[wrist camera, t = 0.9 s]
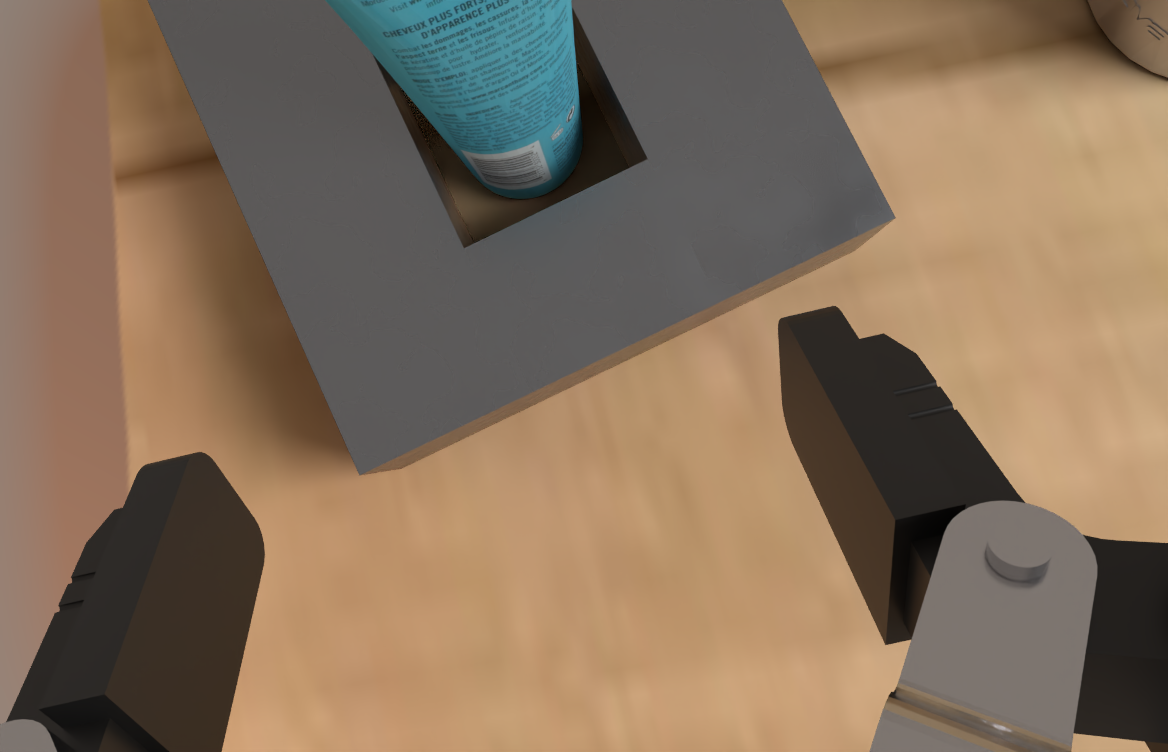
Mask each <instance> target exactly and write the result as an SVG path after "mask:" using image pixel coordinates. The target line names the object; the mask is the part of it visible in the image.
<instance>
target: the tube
mask: <svg viewBox="0 0 1168 752" xmlns="http://www.w3.org/2000/svg"><path fill="white" fill-rule="evenodd" d="M325 1H326V2H327V3H328V4H329V5H330V6H331V8H332V9H333V10H334V11H335V12H336V13H337V14H338V15H339V16H340V17H341V19H342V20H343V21H344V22H345V23H346V24H347V25H348V26H349V27H350V28H351V30H352V31H353V32H354V33H355V34H356V35H357V37H358V38H359V39H360V40H361V41H362V42H363V44H364V45H365V46H366V47H367V48H368V49H369V51H370V52H371V53H372V54H373V55H374V56H375V57H376V59H377V60H378V61H379V62H380V63H381V64H382V66H383V67H384V68H385V69H386V70H387V71H388V73H389V74H390V75H391V76H392V77H393V79H394V80H395V81H396V82H397V83H398V84H399V86H400V87H401V88H402V89H403V90H404V92H405V93H406V94H407V95H408V96H409V98H410V99H411V100H412V101H413V102H414V104H415V105H416V106H417V107H418V108H419V110H420V111H421V112H422V113H423V114H424V116H425V117H426V118H427V119H428V120H429V122H430V123H431V124H432V125H433V126H434V128H435V129H436V130H437V131H438V132H439V134H440V135H441V136H442V137H443V139H444V140H445V141H446V142H447V143H448V145H449V146H450V147H451V148H452V150H453V151H454V152H455V153H456V154H457V156H458V157H459V158H460V159H461V160H462V162H463V163H464V164H465V165H466V167H467V168H468V169H469V170H470V172H471V173H472V174H473V175H474V176H475V177H476V178H477V180H478V181H479V182H480V183H481V184H483V185H484V186H485V187H486V188H488V189H489V190H491V191H492V192H494V193H496V194H498V195H501V196H504V197H508V198H515V199H528V198H535V197H539V196H542V195H544V194H547V193H549V192H551V191H552V190H554V189H556V188H557V187H559V186H560V185H561V184H562V183H563V182H564V181H565V180H566V179H567V178H568V177H569V176H570V174H571V173H572V171H573V170H574V168H575V167H576V165H577V163H578V161H579V158H580V154H581V151H582V145H583V132H582V121H581V110H580V100H579V90H578V80H577V68H576V57H575V45H574V30H573V18H572V3H571V0H325Z"/></svg>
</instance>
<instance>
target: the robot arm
mask: <svg viewBox="0 0 1168 752" xmlns="http://www.w3.org/2000/svg"><path fill="white" fill-rule="evenodd" d="M1088 3H1089V5H1090V7H1091V10H1092V12H1093V14H1094V17H1095V19H1096V22H1097V23H1098V24H1099V26H1100V27H1101V29H1102V30H1103V31H1104V33H1105V34H1106V36H1107V37H1108V38H1109V40H1110V41H1111V42H1112V43H1113V44H1114V45H1115V46H1116V47H1117V48H1118V49H1119V50H1120V51H1121V52H1123V53H1124V54H1125V55H1126V56H1127V57H1128V58H1129V59H1131V60H1132V61H1134V62H1136V63H1137V64H1139V65H1141V66H1142V67H1144V68H1146V69H1147V70H1149V71H1151V72H1153V73H1156V74H1159V75H1162V76H1165V77H1168V0H1088ZM778 338H779V356H780V375H781V393H782V406H783V412H784V417H785V422H786V425H787V429H788V432H789V435H790V438H791V441H792V444H793V446H794V448H795V450H796V453H797V455H798V457H799V459H800V461H801V463H802V465H803V468H804V470H805V472H806V474H807V476H808V478H809V481H810V483H811V485H812V487H813V489H814V491H815V494H816V496H817V498H818V500H819V502H820V504H821V507H822V509H823V511H824V513H825V515H826V517H827V519H828V522H829V524H830V526H831V528H832V530H833V532H834V535H835V537H836V539H837V541H838V543H839V545H840V548H841V550H842V552H843V554H844V556H845V558H846V561H847V563H848V565H849V567H850V569H851V571H852V573H853V576H854V578H855V580H856V582H857V584H858V586H859V589H860V591H861V593H862V595H863V597H864V599H865V602H866V604H867V606H868V608H869V610H870V612H871V615H872V617H873V619H874V621H875V623H876V625H877V627H878V630H879V632H880V634H881V636H882V638H883V640H884V643H885V645H888V644H893V643H897V642H902V641H906V640H911V639H912V640H911V643H910V646H909V650H908V653H907V656H906V659H905V663H904V666H903V669H902V672H901V676H900V679H899V682H898V684H897V687H896V689H895V691H894V692H891V693H890V695H889V697H888V699H887V701H886V703H885V706H884V709H883V711H882V714H881V717H880V720H879V723H878V726H877V730H876V733H875V736H874V739H873V742H872V746H871V749H870V752H1071V749H1072V740H1073V733H1076V734H1085V735H1093V736H1102V737H1111V738H1120V739H1129V740H1137V741H1145V743H1146V744H1147V746H1148V748H1149V749H1150V751H1151V752H1168V543H1154V542H1135V541H1116V540H1106V539H1099V538H1094V537H1090V536H1085V535H1082V534H1081V533H1080V532H1079V531H1078V530H1077V529H1076V528H1075V527H1074V526H1073V525H1071V524H1070V523H1069V522H1067V521H1066V520H1065V519H1063V518H1061V517H1060V516H1058V515H1056V514H1055V513H1053V512H1050V511H1048V510H1046V509H1043V508H1041V507H1038V506H1034V505H1031V504H1027V503H1025V502H1024V501H1023V499H1022V498H1021V497H1020V496H1019V495H1018V494H1017V492H1016V491H1015V489H1014V488H1013V487H1012V485H1011V484H1010V482H1009V481H1008V480H1007V478H1006V477H1005V476H1004V474H1003V473H1002V471H1001V470H1000V469H999V467H998V466H997V464H996V463H995V462H994V460H993V459H992V458H991V456H990V455H989V453H988V452H987V451H986V449H985V448H984V447H983V445H982V444H981V442H980V441H979V440H978V438H977V437H976V435H975V434H974V433H973V431H972V430H971V429H970V427H969V426H968V424H967V423H966V422H965V420H964V419H963V417H962V416H961V415H960V413H959V412H958V411H957V410H954V408H953V404H952V402H951V401H950V399H949V398H948V397H947V395H946V394H945V393H944V391H943V390H942V388H941V387H938V386H937V384H936V380H935V379H934V377H933V376H932V375H931V373H930V372H929V370H928V369H927V368H926V366H925V365H924V363H923V362H922V361H921V359H920V358H919V357H918V355H917V354H916V353H914V352H913V351H911V350H910V349H908V348H906V347H905V346H903V345H902V344H900V343H898V342H897V341H895V340H893V339H892V338H890V337H889V336H887V335H885V334H879V335H875V336H871V337H866V338H862V339H859V338H858V336H857V335H856V333H855V332H854V330H853V329H852V327H851V326H850V324H849V323H848V321H847V319H846V318H845V316H844V315H843V313H842V312H841V311H840V309H839V308H838V307H836V306H831V307H827V308H823V309H818V310H814V311H810V312H805V313H801V314H797V315H793V316H788V317H784V318H781V319H780V320H779V324H778ZM264 557H265V552H264V542H263V537H262V534H261V531H260V528H259V526H258V524H257V522H256V520H255V518H254V517H253V516H252V514H251V513H250V511H249V510H248V509H247V507H246V506H245V504H244V503H243V501H242V500H241V499H240V497H239V496H238V494H237V493H236V492H235V490H234V489H233V487H232V486H231V484H230V483H229V482H228V480H227V479H226V477H225V476H224V475H223V473H222V472H221V470H220V469H219V467H218V466H217V465H216V463H215V462H214V461H213V459H212V458H211V457H210V456H208V455H207V454H205V453H202V452H197V453H193V454H189V455H184V456H180V457H176V458H171V459H167V460H163V461H159V462H154V463H150V464H147V465H144V466H143V467H142V468H141V469H140V470H139V472H138V474H137V476H136V478H135V480H134V483H133V485H132V487H131V490H130V492H129V495H128V497H127V499H126V502H125V504H124V506H123V508H120V509H116V510H114V511H113V512H112V513H111V514H110V515H109V517H108V518H107V519H106V520H105V522H104V523H103V524H102V525H101V526H100V527H99V529H98V530H97V531H96V532H95V533H94V535H93V536H92V537H91V538H90V539H89V540H88V542H87V543H86V545H85V547H84V549H83V552H82V554H81V557H80V558H79V561H78V563H77V565H76V567H75V570H74V572H73V574H72V576H71V578H72V583H71V584H68V585H67V587H66V590H65V592H64V594H63V596H62V599H61V601H60V603H59V607H60V611H59V612H57V613H55V614H54V617H53V619H52V621H51V623H50V625H49V628H48V630H47V632H46V635H45V637H44V639H43V641H42V643H41V646H40V648H39V650H38V652H37V655H36V657H35V659H34V661H33V664H32V666H31V668H30V670H29V672H28V675H27V677H26V679H25V681H24V684H23V686H22V688H21V690H20V693H19V695H18V697H17V699H16V702H15V704H14V706H13V708H12V711H11V713H10V715H9V717H8V719H7V721H6V722H5V723H2V724H0V752H221V751H222V747H223V743H224V738H225V734H226V729H227V725H228V720H229V716H230V712H231V707H232V703H233V698H234V694H235V690H236V685H237V681H238V676H239V672H240V667H241V663H242V659H243V654H244V650H245V645H246V641H247V637H248V632H249V628H250V623H251V619H252V614H253V610H254V606H255V601H256V597H257V592H258V588H259V584H260V579H261V575H262V570H263V566H264Z"/></svg>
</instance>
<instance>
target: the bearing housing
mask: <svg viewBox="0 0 1168 752" xmlns="http://www.w3.org/2000/svg"><path fill="white" fill-rule="evenodd" d="M148 2H149V5H150V7H151V9H152V11H153V14H154V16H155V18H156V20H157V22H158V25H159V27H160V29H161V31H162V34H163V36H164V38H165V40H166V43H167V45H168V47H169V49H170V52H171V54H172V56H173V58H174V61H175V63H176V65H177V67H178V70H179V72H180V74H181V76H182V78H183V81H184V83H185V85H186V87H187V90H188V92H189V94H190V96H191V99H192V101H193V103H194V105H195V108H196V110H197V112H198V114H199V117H200V119H201V121H202V123H203V126H204V128H205V130H206V132H207V135H208V137H209V139H210V141H211V143H212V146H213V148H214V150H215V152H216V155H217V157H218V159H219V161H220V164H221V166H222V168H223V170H224V173H225V175H226V177H227V179H228V182H229V184H230V186H231V188H232V191H233V193H234V195H235V197H236V199H237V202H238V204H239V206H240V208H241V211H242V213H243V215H244V217H245V220H246V222H247V224H248V226H249V229H250V231H251V233H252V235H253V238H254V240H255V242H256V244H257V247H258V249H259V251H260V253H261V256H262V258H263V260H264V262H265V264H266V267H267V269H268V271H269V273H270V276H271V278H272V280H273V282H274V285H275V287H276V289H277V291H278V294H279V296H280V298H281V300H282V303H283V305H284V307H285V309H286V312H287V314H288V316H289V318H290V320H291V323H292V325H293V327H294V329H295V332H296V334H297V336H298V338H299V341H300V343H301V345H302V347H303V350H304V352H305V354H306V356H307V359H308V361H309V363H310V365H311V368H312V370H313V372H314V374H315V377H316V379H317V381H318V383H319V385H320V388H321V390H322V392H323V394H324V397H325V399H326V401H327V403H328V406H329V408H330V410H331V412H332V415H333V417H334V419H335V421H336V424H337V426H338V428H339V430H340V433H341V435H342V437H343V439H344V441H345V444H346V446H347V448H348V450H349V453H350V455H351V457H352V459H353V462H354V464H355V466H356V468H357V471H358V473H359V475H365V474H371V473H377V472H383V471H389V470H396V469H401V468H403V467H405V466H408V465H410V464H412V463H414V462H416V461H418V460H420V459H422V458H424V457H426V456H428V455H430V454H433V453H435V452H437V451H439V450H441V449H443V448H445V447H447V446H449V445H451V444H453V443H455V442H458V441H460V440H462V439H464V438H466V437H468V436H470V435H472V434H474V433H476V432H478V431H480V430H483V429H485V428H487V427H489V426H491V425H493V424H495V423H497V422H499V421H501V420H503V419H505V418H508V417H510V416H512V415H514V414H516V413H518V412H520V411H522V410H524V409H526V408H528V407H530V406H533V405H535V404H537V403H539V402H541V401H543V400H545V399H547V398H549V397H551V396H553V395H555V394H558V393H560V392H562V391H564V390H566V389H568V388H570V387H572V386H574V385H576V384H578V383H580V382H583V381H585V380H587V379H589V378H591V377H593V376H595V375H597V374H599V373H601V372H603V371H605V370H608V369H610V368H612V367H614V366H616V365H618V364H620V363H622V362H624V361H626V360H628V359H630V358H633V357H635V356H637V355H639V354H641V353H643V352H645V351H647V350H649V349H651V348H653V347H655V346H658V345H660V344H662V343H664V342H666V341H668V340H670V339H672V338H674V337H676V336H678V335H680V334H683V333H685V332H687V331H689V330H691V329H693V328H695V327H697V326H699V325H701V324H703V323H705V322H708V321H710V320H712V319H714V318H716V317H718V316H720V315H722V314H724V313H726V312H728V311H730V310H733V309H735V308H737V307H739V306H741V305H743V304H745V303H747V302H749V301H751V300H753V299H755V298H758V297H760V296H762V295H764V294H766V293H768V292H770V291H772V290H774V289H776V288H778V287H780V286H783V285H785V284H787V283H789V282H791V281H793V280H795V279H797V278H799V277H801V276H803V275H805V274H808V273H810V272H812V271H814V270H816V269H818V268H820V267H822V266H824V265H826V264H828V263H830V262H833V261H835V260H837V259H839V258H841V257H843V256H845V255H847V254H849V253H851V252H853V251H855V250H856V249H858V248H859V247H860V246H861V245H863V244H864V243H865V242H866V241H868V240H869V239H870V238H871V237H873V236H874V235H875V234H876V233H877V232H879V231H880V230H881V229H882V228H884V227H885V226H886V225H887V224H889V223H890V222H891V221H892V220H894V219H895V216H894V214H893V212H892V210H891V208H890V206H889V204H888V202H887V200H886V198H885V197H884V195H883V193H882V191H881V189H880V187H879V185H878V183H877V181H876V179H875V177H874V176H873V174H872V172H871V170H870V168H869V166H868V164H867V162H866V160H865V158H864V156H863V155H862V153H861V151H860V149H859V147H858V145H857V143H856V141H855V139H854V137H853V135H852V134H851V132H850V130H849V128H848V126H847V124H846V122H845V120H844V118H843V116H842V114H841V113H840V111H839V109H838V107H837V105H836V103H835V101H834V99H833V97H832V95H831V93H830V92H829V90H828V88H827V86H826V84H825V82H824V80H823V78H822V76H821V74H820V72H819V71H818V69H817V67H816V65H815V63H814V61H813V59H812V57H811V55H810V53H809V51H808V50H807V48H806V46H805V44H804V42H803V40H802V38H801V36H800V34H799V32H798V30H797V28H796V27H795V25H794V23H793V21H792V19H791V17H790V15H789V13H788V11H787V9H786V7H785V6H784V4H783V2H782V0H571V3H572V18H573V30H574V45H575V57H576V61H577V63H578V65H579V67H580V69H581V71H582V73H583V75H584V77H585V79H586V81H587V83H588V85H589V87H590V89H591V91H592V93H593V95H594V97H595V99H596V101H597V103H598V105H599V107H600V109H601V111H602V113H603V115H604V117H605V119H606V121H607V123H608V125H609V127H610V129H611V131H612V133H613V135H614V138H615V140H616V142H617V144H618V146H619V148H620V150H621V152H622V154H623V156H624V158H625V160H626V162H627V164H628V166H629V168H628V169H626V170H624V171H622V172H620V173H618V174H616V175H614V176H612V177H610V178H608V179H606V180H604V181H602V182H600V183H597V184H595V185H593V186H591V187H589V188H587V189H585V190H583V191H581V192H579V193H577V194H575V195H573V196H571V197H569V198H567V199H565V200H562V201H560V202H558V203H556V204H554V205H552V206H550V207H548V208H546V209H544V210H542V211H540V212H538V213H536V214H534V215H532V216H530V217H528V218H525V219H523V220H521V221H519V222H517V223H515V224H513V225H511V226H509V227H507V228H505V229H503V230H501V231H499V232H497V233H495V234H493V235H491V236H488V237H486V238H484V239H482V240H480V241H478V242H476V243H473V240H472V238H471V236H470V234H469V232H468V230H467V228H466V226H465V223H464V221H463V219H462V217H461V215H460V213H459V211H458V209H457V207H456V204H455V202H454V200H453V198H452V196H451V194H450V192H449V190H448V187H447V185H446V183H445V181H444V179H443V177H442V175H441V173H440V171H439V168H438V166H437V164H436V162H435V160H434V158H433V156H432V154H431V151H430V149H429V147H428V145H427V143H426V141H425V139H424V137H423V135H422V132H421V130H420V128H419V126H418V124H417V122H416V120H415V118H414V115H413V113H412V111H411V109H410V107H409V105H408V103H407V101H406V99H405V96H404V94H403V92H402V90H401V88H400V86H399V84H398V83H397V82H396V81H395V80H394V79H393V77H392V76H391V75H390V74H389V73H388V71H387V70H386V69H385V68H384V67H383V66H382V64H381V63H380V62H379V61H378V60H377V59H376V57H375V56H374V55H373V54H372V53H371V52H370V51H369V49H368V48H367V47H366V46H365V45H364V44H363V42H362V41H361V40H360V39H359V38H358V37H357V35H356V34H355V33H354V32H353V31H352V30H351V28H350V27H349V26H348V25H347V24H346V23H345V22H344V21H343V20H342V19H341V17H340V16H339V15H338V14H337V13H336V12H335V11H334V10H333V9H332V8H331V6H330V5H329V4H328V3H327V2H326V1H325V0H148Z"/></svg>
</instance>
